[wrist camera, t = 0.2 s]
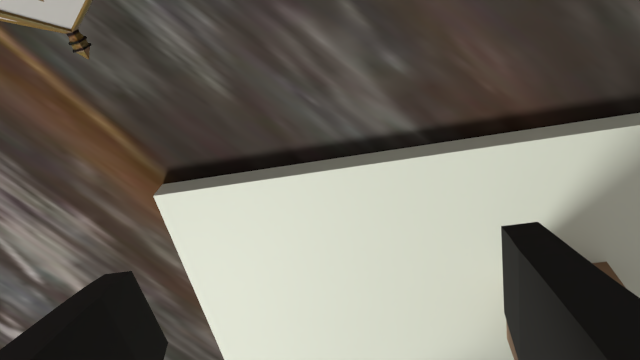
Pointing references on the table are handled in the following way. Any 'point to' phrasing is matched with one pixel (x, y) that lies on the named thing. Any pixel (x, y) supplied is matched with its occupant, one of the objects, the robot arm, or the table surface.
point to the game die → (50, 18)
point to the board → (399, 241)
